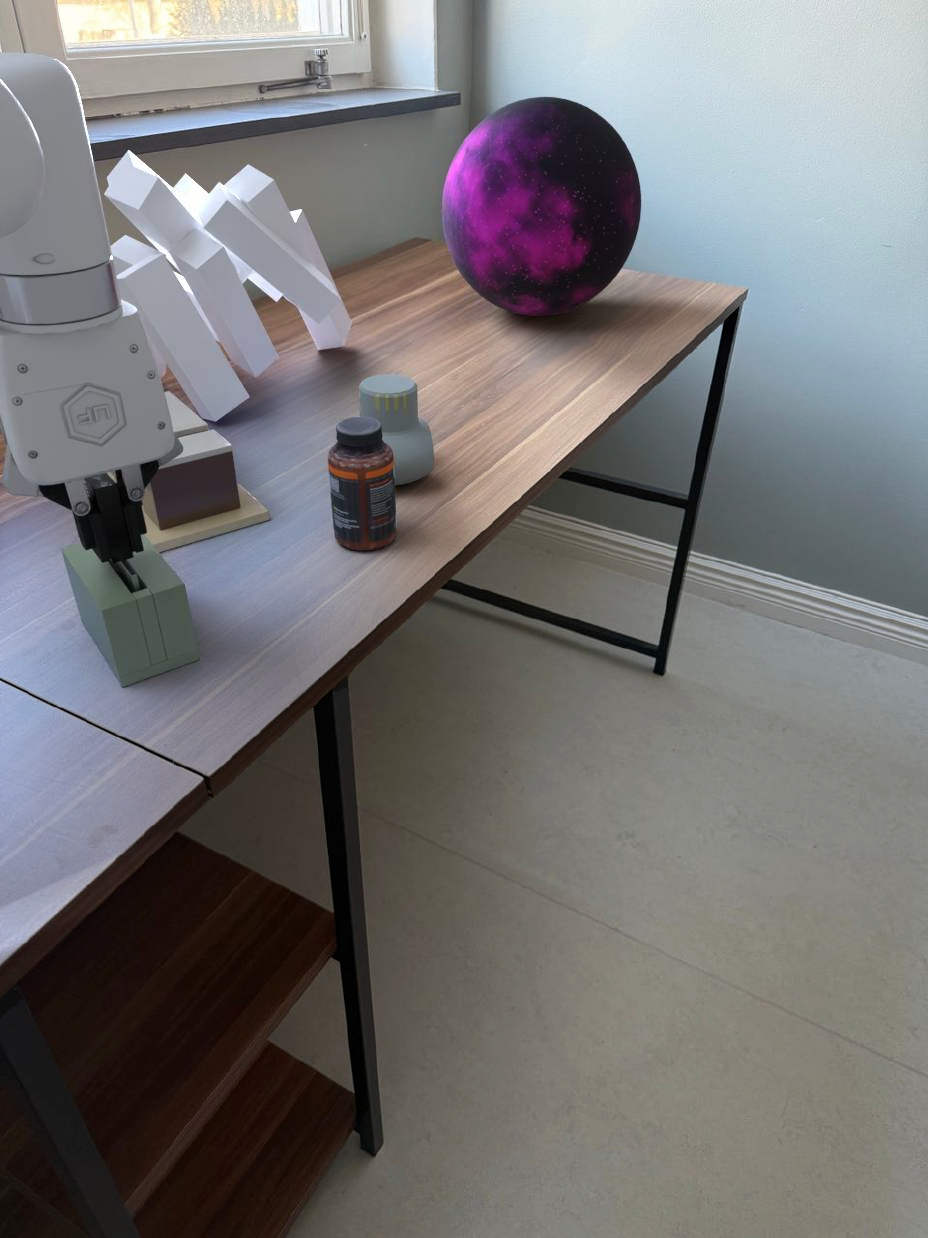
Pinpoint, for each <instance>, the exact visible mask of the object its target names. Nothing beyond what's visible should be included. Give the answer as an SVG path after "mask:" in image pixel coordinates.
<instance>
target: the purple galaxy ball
mask: <svg viewBox="0 0 928 1238" xmlns="http://www.w3.org/2000/svg"><path fill="white" fill-rule="evenodd" d="M441 198H442V199H441V223H442V230H443V235H444V239H445V244H446V246H447V250H448V253H449V255H450V257H451V259H452V262H453V264H454V266H455V267H456V269H457V270H458V272H459V274H460V275H461V277H462V278H463V279H464V280H465V282H466V283H467V284H468V285H469V286H470V287H471V289H473V291H475V292H476V293H477V294H478V295H479V296H480V297H482V298H483V299H484V300H486V301H487V302H488V303H490V304H492V305H493V306H495V307H498V308H499V309H502V310H505V311H507V312H510V313H513V314H517V315H522V316H530V317H546V316H547V317H548V316H555V315H559V314H562V313H565V312H569V311H572V310H574V309H577V308H579V307H581V306H583V305H585V304H586V303H588V302H590V301H591V300H593V299H594V298H595V297H597V296H598V295H600V293H602V292H603V291H604V290H605V289H607V287H608V286H609V285H610V284H611V283H612V282H613V281H614V279H616V277H617V276H618V274H619V273H620V272H621V270H622V269H623V267H624V265H626V262H627V260H628V259H629V256H630V254H631V253H632V250H633V248H634V245H635V242H636V240H637V235H638V232H639V227H640V224H641V223H640V222H641V216H642V215H641V214H642V189H641V182H640V177H639V172H638V170H637V166H636V163H635V160H634V158H633V156H632V154H631V151H630V150H629V148H628V146H627V144H626V142H625V141H624V139H623V138H622V136H621V135H620V134H619V132H618V131H617V130H616V128H614V127H613V125H612V124H611V123H610V122H608V121H607V119H605V118H604V117H603V116H601V114H599V113H598V112H596V111H595V110H593V109H591V108H590V107H588V106H586V105H584V104H581V103H579V102H578V101H577V102H576V101H574V100H570V99H568V98H567V99H566V98H561V97H557V96H535V97H528V98H524V99H519V100H517V101H514V102H511V103H509V104H506V105H504V106H502V107H500V108H498V109H496V110H495V111H493V112H492V113H490V114H489V115H488V116H486V117H484V118H483V119H482V120H481V121H480V122H479V123H478V124H477V125H476V126H475V127H474V128H473V129H472V130H471V131H470V132H469V133H468V135H467V136H466V137H465V139H464V140H463V141H462V143H461V144H460V146H459V147H458V149H457V150H456V153H455V154H454V156H453V159H452V161H451V163H450V165H449V168H448V170H447V173H446V177H445V181H444V185H443V191H442V197H441Z"/></svg>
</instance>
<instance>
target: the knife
mask: <svg viewBox="0 0 928 1238" xmlns="http://www.w3.org/2000/svg"><path fill="white" fill-rule="evenodd" d="M83 480H84V483H85V487H86V491H87V494H88V496H89V498H90V499H91V500H92V502H93V504H94V506H95V507H96V508H97V510H98V511H99V512H100V514H101V516H102V520H103V524H104V528H105V532H106V536H107V540H108V544H109V548H110V552H111V556H112V558H111V559H110V561H108V562H109V563H110V565H111V566H112V568H113V569H114V570H115V572H116V573H117V574H118V576H119V577H120V579H121V580H122V581H123V583H124V584H125V586H126V587H127V588H128V590H129V591H130V592H131V594H132V593H134V592H137V591H140V586H139V581H138V577H137V574H136V573H135V571H134V570H133V569H132V567H131V566H130V565H129V563H128V562H127V561H126V560H127V559H130V558H133V557H134V555H133V551H132V546H131V542H130V538H129V534H128V529H127V525H126V521H125V516H124V512H123V508H122V503H121V499H120V494H119V490H118V486H117V484H116V483H115V481H114V480H113V479H112V478H111V477H110V476H109V474H108V473H103V474H99V475H95V476H90V477H86V478H83Z"/></svg>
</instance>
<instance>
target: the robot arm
mask: <svg viewBox="0 0 928 1238" xmlns="http://www.w3.org/2000/svg"><path fill="white" fill-rule="evenodd" d="M90 143H91V142H90V138H89V132H88V129H87V124H86V118H85V113H84V109H83V104H82V99H81V96H80V91H79V88H78V84H77V82H76V79H75V76H73V73H72V72H71V70H70V69H69V68H68V66H66V65H65V64H64V63H63V62H62V61H60V60H59V59H57V58H54V57H51V56H49V55H44V54H39V53H32V52H31V53H30V52H28V53H27V52H7V51H6V52H4V51H3V52H1V51H0V431H1V434H2V437H3V440H4V444H5V454H4V461H3V468H2V469H3V470H2V479H1V483H2V485H3V487H4V489H5V490H6V492H7V493H8V494H9V495H12V496H18V497H20V496H21V497H32V498H33V497H34V498H38V497H40V498H41V497H42V498H45V499H47V500H49V501H51V502H53V503H55V504H58V505H59V506H61V507H63V508H66V509H67V510H70V511H71V512H72V516H73V520H74V523H75V528H76V531H77V535H78V538H79V541H80V543H81V544H82V546H83V547H84V549H85V550H90V549H93V551H94V552H95V554H96V555H97V556H98V558H99V559H100V561H101V562H102V563H104V562H108V561H110V559H111V558H112V556H111V552H110V548H109V544H108V540H107V536H106V532H105V528H104V524H103V520H102V516H101V514H100V512H99V511H98V510H97V508H96V507H95V506H94V504H93V502H92V500H91V499H90V498H89V495H88V491H87V487H86V483H85V479H84V478H86V477H90V476H95V475H99V474H103V473H107V472H111V471H114V476H115V481H116V484H117V486H118V490H119V494H120V499H121V503H122V508H123V512H124V516H125V521H126V525H127V529H128V534H129V538H130V542H131V546H132V551H133V552H136V553H138V552H142V551H144V548H143V543H142V539H141V535H143V534H146V533H147V528H146V524H145V519H144V514H143V510H142V505H141V501H140V500H142V499H143V498H144V496H145V488H146V487H147V485H148V484H149V482H150V481H151V479H152V478H153V477H154V475H155V474H156V472H157V471H158V469H159V467H160V466H162V465H163V466H164V465H165V464H167V463H168V462H170V461H171V460H173V459H174V458H176V457H177V456H179V455H180V454H181V453H182V452H183V445H182V444H181V442H180V441H179V439H178V438H177V436H176V435H175V433H174V431H173V425H172V420H171V416H170V412H169V408H168V404H167V400H166V396H165V393H164V392H165V390H164V386H163V381H162V378H160V375H159V371H158V368H157V364H156V361H155V357H154V354H153V351H152V348H151V345H150V342H149V339H148V336H147V333H146V331H145V328H144V325H143V323H142V320H141V318H140V315H139V313H138V311H137V309H136V307H134V306H133V305H130V304H129V303H127V302H125V301H122V300H121V296H120V291H119V286H118V281H117V276H116V271H115V266H114V261H113V257H112V252H111V247H110V246H111V242H110V237H109V232H108V227H107V222H106V217H105V211H104V207H103V202H102V197H101V192H100V187H99V183H98V178H97V177H98V176H97V172H96V168H95V162H94V159H93V152H92V149H91V144H90Z"/></svg>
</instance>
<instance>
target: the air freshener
mask: <svg viewBox="0 0 928 1238" xmlns="http://www.w3.org/2000/svg"><path fill="white" fill-rule="evenodd" d="M358 394H359V397H358V398H359V417H370V418H374V419H376V420H378V421H379V422H380V423H381V426H382V435H383V437H382V440H383V441H384V442H385V443H387V444H388V445H389V446H390V447H391V449H392V451H393V456H394V473H395V486H402V485H406V484H410V483H414V482H415V481H418V480H420V479H422V478H424V477H426V476H427V475H428V474H430V473H431V472H432V471H433V470H434V467H435V449H434V442H433V436H432V432H431V427H430V425H429V423H428V421H426V420H425V419H423V418H421V417H419V401H418V400H419V399H418V396H419V394H418V384H417V383H416V382H415V381H414V380H413V379H412V378H411V377H408V376H406V375H403V374H396V373H395V374H394V373H382V374H375V375H372V376H371V375H370V376H368V377H366V378H365V379H363V380H362V381H361V383H359V385H358Z"/></svg>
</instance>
